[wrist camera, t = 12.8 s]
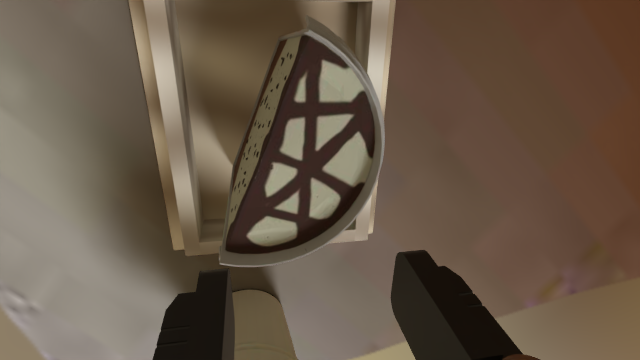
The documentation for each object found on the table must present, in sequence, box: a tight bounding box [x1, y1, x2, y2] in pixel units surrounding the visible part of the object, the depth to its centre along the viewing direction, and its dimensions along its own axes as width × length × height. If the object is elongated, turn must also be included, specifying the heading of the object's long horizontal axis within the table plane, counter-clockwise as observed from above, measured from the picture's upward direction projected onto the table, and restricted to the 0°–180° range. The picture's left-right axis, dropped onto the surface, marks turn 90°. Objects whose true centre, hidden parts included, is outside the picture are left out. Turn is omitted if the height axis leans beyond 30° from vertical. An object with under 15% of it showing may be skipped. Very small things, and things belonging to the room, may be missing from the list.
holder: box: [128, 0, 396, 256], centre depth 24 cm, size 20×16×4 cm
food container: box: [219, 15, 385, 267], centre depth 21 cm, size 12×6×10 cm, turn 156°
